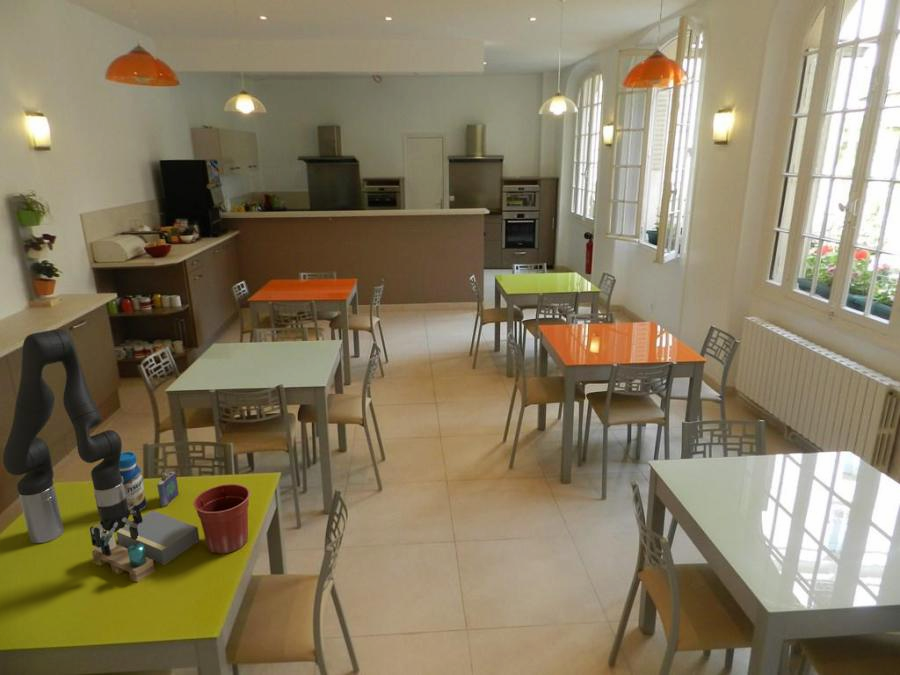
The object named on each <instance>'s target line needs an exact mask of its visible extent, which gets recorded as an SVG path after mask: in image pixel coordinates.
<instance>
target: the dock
mask: <svg viewBox="0 0 900 675" xmlns="http://www.w3.org/2000/svg"><path fill="white" fill-rule="evenodd" d="M141 516H142V520H143V521H142V523H139V524H138V526H137V530H138V536H137V537H138V538H137V539H136V540H134V539H132V538H131V536H130V531H129V527H130V526H128V525H125V527H123V528H121V529H119V530H118V531H117V532H115V533H116V537H117V542H118V545H120V546H122V547H124V548H127V549H128V547H129V546H131V545H133V544H136V543H142V544H143V545H144V549H145V555H146V557H148V558H150V559H152V560H153V562H154V561H155V562H157V563H160V564H161V565H166V564H168V563H169V562H170V561H172V560H174V559H175V558H176V557H178V556H180V554H182V553H184V552H185V551H187V550H189V549H190V548H191V547H193V546H194V545H196V544H197V543H199V542H200V535H199V529H198V526H196V525H193V524H190V523H188V522H185V521H182V520H180V519H177V518H175V517H171V516H169V515H166V514H164V513H162V512H161V513H160V512H158V511H156V510H152V511H149V512H148V513H146V514H144V515H141Z"/></svg>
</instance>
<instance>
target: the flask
mask: <svg viewBox="0 0 900 675" xmlns="http://www.w3.org/2000/svg"><path fill="white" fill-rule="evenodd" d="M161 475H162V478H161V479H160V480H159V481H158V482H157V485H156V486H157V490H158V496H159V502H160V507H162V508H165V507H167V506H169V505H170V503H171V501H172V500H173V501H174V498H175V499H176V498H177V497H178V496H179V495H180V493H179V492H180V491H179V489H178V488H179V485H178V478H177V472H176V471H170V472H169V473H166V472H162V474H161ZM177 495H178V496H177ZM176 496H177V497H176ZM173 501H172V502H173ZM168 504H169V505H168Z"/></svg>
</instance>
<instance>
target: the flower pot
mask: <svg viewBox="0 0 900 675" xmlns="http://www.w3.org/2000/svg"><path fill="white" fill-rule="evenodd" d="M250 496H251V491H250V489H249V488H248V487H247V486H245V485H244V484H243V485H242V484H237V483H226V484H225V483H224V484H219V485H215V486H213V487H210V488H208V489H205V490H204V491H202V492H200V493H199V494H198V495H197V496H196V497H194V500H193V507H194V509H195V510H196V513H197V516H198V518H199V520H200V523H201V527H202V531H203V534H204V538H205V542H206V545H207V546H206V547H207V550H209V551H210V552H212V553H213V554H215V553H218V554H220V555H221V554H222V555H223V554H229V553H233V552H236V551H238V550H240V549H241V548H243V547H244V545H245V544H246V543H248V540H249V519H248V516H249V509H248V508H249V499H250Z"/></svg>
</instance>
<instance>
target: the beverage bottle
mask: <svg viewBox="0 0 900 675" xmlns="http://www.w3.org/2000/svg"><path fill="white" fill-rule="evenodd" d="M119 469H120V474H121V479H122V483H123V485H124V489H125V493H126V498H127V503H128V508H130V505H131V504H135V505H137V506H139V509H140V511H142V510H144V509H145V508H146V507H147V498H146V493H145V486H144V482H143V480H144V479H143V475H142V474H141V473H142V470H141V468H140V467H139V466H138V465H137V456H136V453H135V452H133V451H123V452H121V457H120V468H119Z"/></svg>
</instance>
